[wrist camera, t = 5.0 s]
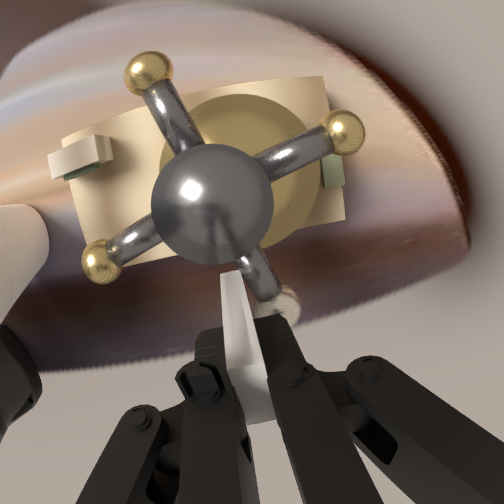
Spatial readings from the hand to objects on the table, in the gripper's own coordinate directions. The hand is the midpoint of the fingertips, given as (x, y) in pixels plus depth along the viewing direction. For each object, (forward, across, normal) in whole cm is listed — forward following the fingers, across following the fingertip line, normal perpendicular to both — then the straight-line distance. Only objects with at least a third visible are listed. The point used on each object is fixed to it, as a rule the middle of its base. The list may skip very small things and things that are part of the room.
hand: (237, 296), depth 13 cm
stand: (+8, -1, +6) cm, 10 cm away
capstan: (+5, 0, +5) cm, 7 cm away
